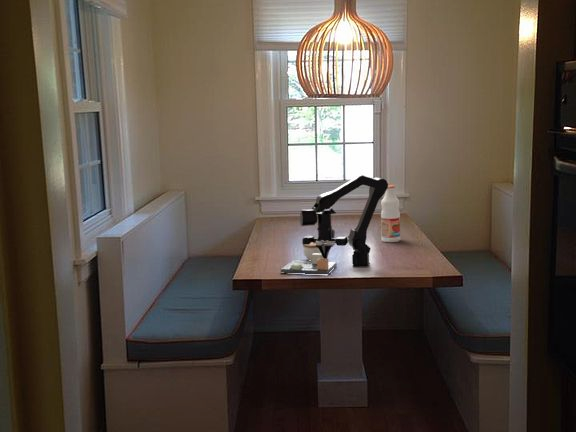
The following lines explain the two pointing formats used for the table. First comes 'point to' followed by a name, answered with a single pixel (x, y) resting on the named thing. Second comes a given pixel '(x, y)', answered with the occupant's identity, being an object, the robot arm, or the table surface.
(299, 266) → the button
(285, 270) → the panel
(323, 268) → the slider
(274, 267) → the table surface
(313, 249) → the lidded jar
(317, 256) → the slider
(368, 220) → the robot arm
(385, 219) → the fruit juice
